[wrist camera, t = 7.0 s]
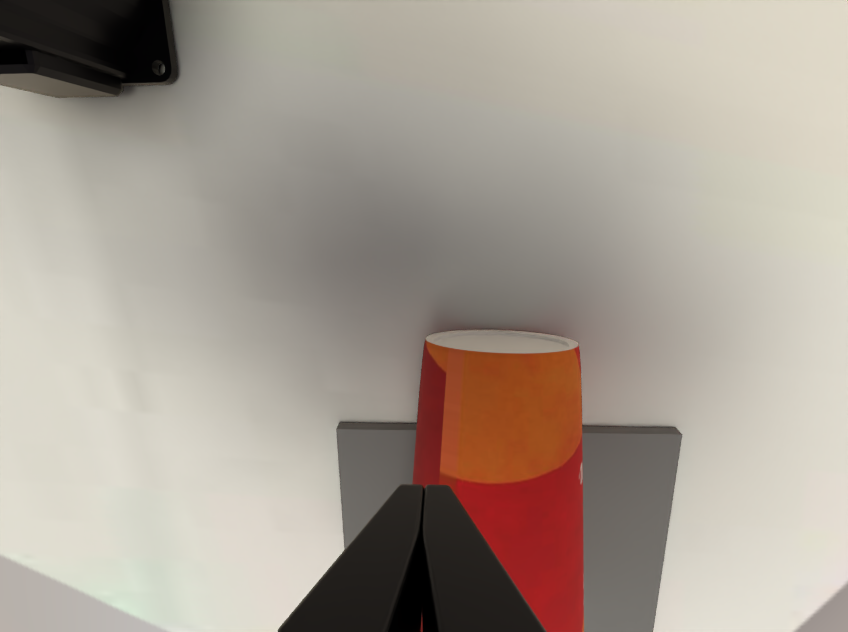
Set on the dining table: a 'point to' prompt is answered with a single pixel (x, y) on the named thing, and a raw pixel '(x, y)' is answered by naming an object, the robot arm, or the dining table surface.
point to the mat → (602, 508)
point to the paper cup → (511, 455)
